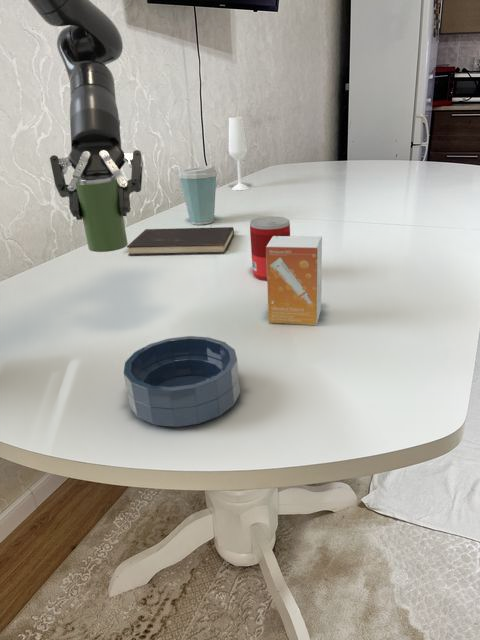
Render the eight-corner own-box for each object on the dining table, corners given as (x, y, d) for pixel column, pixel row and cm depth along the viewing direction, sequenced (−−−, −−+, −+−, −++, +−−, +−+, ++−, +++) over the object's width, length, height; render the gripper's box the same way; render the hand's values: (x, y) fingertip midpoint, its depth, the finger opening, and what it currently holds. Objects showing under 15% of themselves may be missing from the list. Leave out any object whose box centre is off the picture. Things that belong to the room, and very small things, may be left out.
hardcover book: (224, 253, 121) (224, 244, 120) (128, 255, 123) (126, 246, 122) (234, 235, 135) (233, 226, 134) (147, 237, 137) (146, 228, 136)
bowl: (128, 437, 60) (119, 397, 57) (134, 378, 72) (127, 342, 69) (246, 421, 61) (243, 381, 59) (232, 366, 73) (229, 331, 71)
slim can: (86, 253, 80) (71, 182, 75) (91, 243, 85) (77, 175, 80) (126, 250, 80) (114, 179, 75) (128, 239, 86) (117, 172, 81)
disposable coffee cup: (181, 227, 144) (175, 171, 138) (185, 218, 154) (179, 165, 147) (220, 225, 145) (215, 169, 138) (221, 216, 154) (217, 163, 147)
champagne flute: (240, 190, 188) (235, 118, 177) (227, 189, 193) (222, 118, 182) (253, 187, 193) (249, 116, 182) (240, 186, 197) (235, 116, 186)
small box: (268, 324, 85) (264, 246, 79) (275, 308, 91) (272, 234, 85) (317, 326, 84) (318, 246, 78) (322, 310, 89) (322, 235, 83)
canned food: (279, 283, 102) (277, 227, 97) (245, 278, 106) (241, 223, 101) (298, 271, 108) (297, 218, 103) (264, 266, 111) (262, 214, 106)
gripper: (40, 109, 79) (43, 204, 74) (137, 104, 81) (146, 197, 76) (55, 143, 86) (58, 232, 81) (143, 137, 88) (152, 224, 83)
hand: (101, 215), depth 79 cm, fingers closed on slim can, 6 cm apart
